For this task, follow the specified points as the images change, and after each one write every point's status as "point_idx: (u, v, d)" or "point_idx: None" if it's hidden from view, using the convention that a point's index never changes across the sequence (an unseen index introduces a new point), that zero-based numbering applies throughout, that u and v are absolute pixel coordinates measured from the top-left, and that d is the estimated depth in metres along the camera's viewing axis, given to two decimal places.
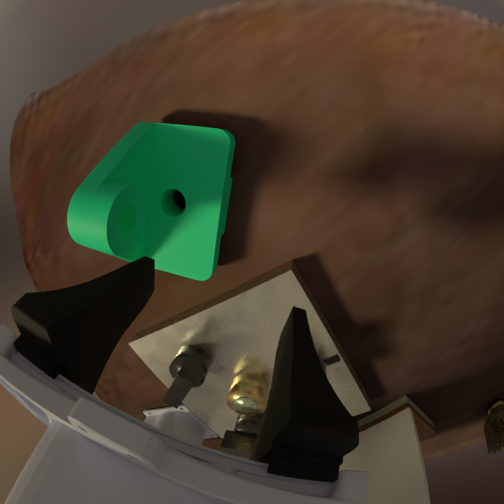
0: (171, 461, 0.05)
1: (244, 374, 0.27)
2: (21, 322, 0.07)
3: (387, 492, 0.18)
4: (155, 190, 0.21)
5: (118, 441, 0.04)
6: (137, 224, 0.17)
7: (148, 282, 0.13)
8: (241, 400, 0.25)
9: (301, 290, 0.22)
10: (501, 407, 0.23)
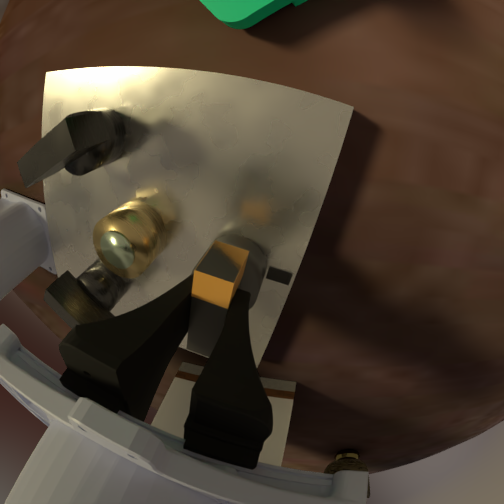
0: (171, 461, 0.05)
1: (147, 205, 0.16)
2: (73, 359, 0.07)
3: None
4: None
5: (118, 441, 0.04)
6: None
7: None
8: (116, 238, 0.14)
9: (338, 144, 0.12)
10: (356, 462, 0.28)
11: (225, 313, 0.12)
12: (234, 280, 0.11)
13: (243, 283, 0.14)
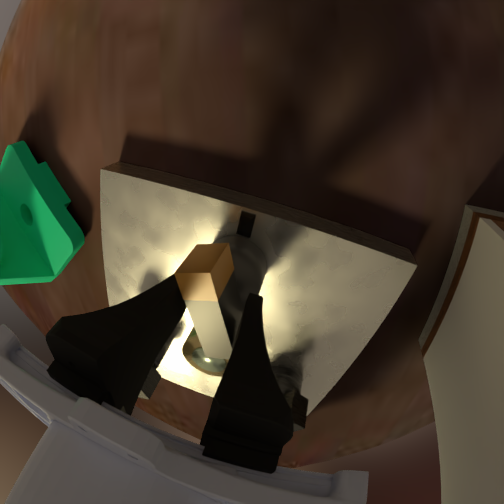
0: (171, 461, 0.05)
1: None
2: (59, 349, 0.07)
3: None
4: (18, 218, 0.20)
5: (118, 441, 0.04)
6: None
7: None
8: (196, 356, 0.18)
9: (123, 177, 0.16)
10: None
11: (218, 307, 0.12)
12: (210, 270, 0.11)
13: (238, 276, 0.14)
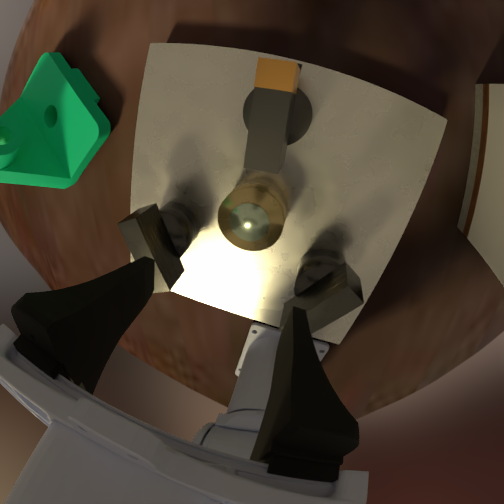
0: (171, 461, 0.05)
1: None
2: (21, 322, 0.07)
3: None
4: (40, 124, 0.19)
5: (118, 441, 0.04)
6: (14, 135, 0.15)
7: (148, 282, 0.13)
8: (235, 217, 0.17)
9: (174, 45, 0.14)
10: None
11: (289, 99, 0.11)
12: None
13: (297, 103, 0.13)
